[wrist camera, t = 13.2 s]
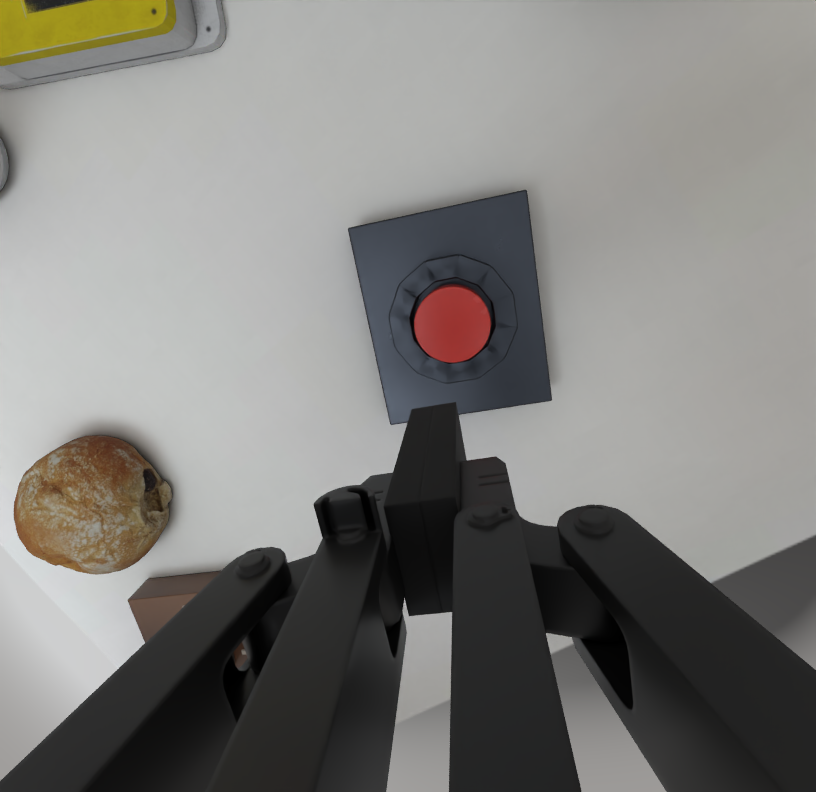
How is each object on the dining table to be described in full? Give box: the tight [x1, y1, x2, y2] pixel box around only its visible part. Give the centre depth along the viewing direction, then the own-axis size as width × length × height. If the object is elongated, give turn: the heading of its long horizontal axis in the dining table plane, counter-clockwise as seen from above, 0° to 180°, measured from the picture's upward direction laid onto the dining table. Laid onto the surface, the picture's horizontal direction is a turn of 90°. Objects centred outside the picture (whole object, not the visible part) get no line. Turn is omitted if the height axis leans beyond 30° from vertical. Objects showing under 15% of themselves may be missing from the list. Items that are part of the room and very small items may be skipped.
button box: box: [348, 190, 552, 425], centre depth 29 cm, size 12×10×4 cm
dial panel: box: [128, 571, 248, 668], centre depth 39 cm, size 11×9×3 cm
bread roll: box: [14, 435, 172, 574], centre depth 35 cm, size 10×10×8 cm
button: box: [414, 284, 491, 363], centre depth 26 cm, size 4×4×2 cm
